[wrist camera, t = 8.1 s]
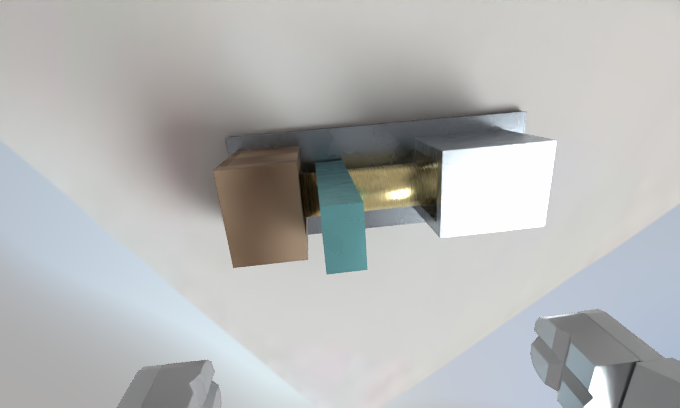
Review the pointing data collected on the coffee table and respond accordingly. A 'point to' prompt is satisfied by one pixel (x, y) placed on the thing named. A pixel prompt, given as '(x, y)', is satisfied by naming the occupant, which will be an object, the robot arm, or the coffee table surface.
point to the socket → (263, 206)
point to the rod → (360, 203)
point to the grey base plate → (439, 168)
